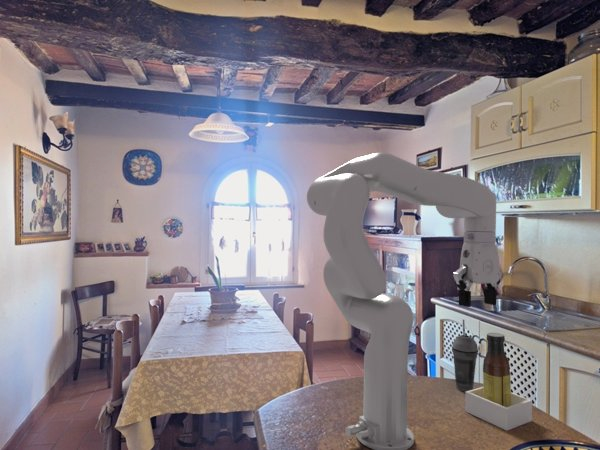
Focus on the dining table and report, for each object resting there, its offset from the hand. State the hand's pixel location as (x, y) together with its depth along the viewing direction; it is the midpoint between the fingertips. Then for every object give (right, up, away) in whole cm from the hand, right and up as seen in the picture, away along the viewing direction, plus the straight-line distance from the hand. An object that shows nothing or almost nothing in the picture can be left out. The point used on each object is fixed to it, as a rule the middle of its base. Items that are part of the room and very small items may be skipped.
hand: (477, 305), depth 103 cm
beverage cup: (+2, -28, +14) cm, 31 cm away
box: (+4, -27, -3) cm, 28 cm away
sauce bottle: (+3, -27, -3) cm, 27 cm away
